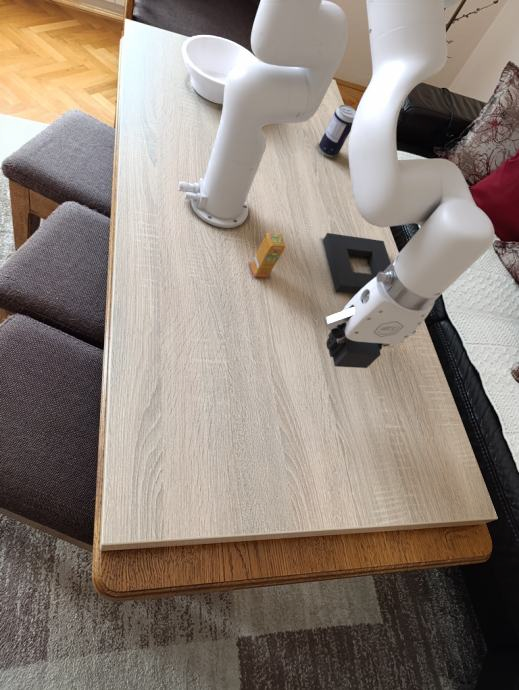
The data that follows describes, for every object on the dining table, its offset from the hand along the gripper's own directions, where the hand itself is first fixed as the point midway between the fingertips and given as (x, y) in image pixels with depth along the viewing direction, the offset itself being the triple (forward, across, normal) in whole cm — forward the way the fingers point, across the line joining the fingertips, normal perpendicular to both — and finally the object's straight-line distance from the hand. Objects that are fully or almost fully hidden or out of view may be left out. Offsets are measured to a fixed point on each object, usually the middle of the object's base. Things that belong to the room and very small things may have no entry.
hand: (348, 349), depth 81 cm
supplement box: (+15, -7, +26) cm, 31 cm away
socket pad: (+14, +17, +30) cm, 37 cm away
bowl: (+15, -11, +86) cm, 88 cm away
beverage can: (+15, +18, +70) cm, 74 cm away
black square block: (+1, 0, 0) cm, 1 cm away
